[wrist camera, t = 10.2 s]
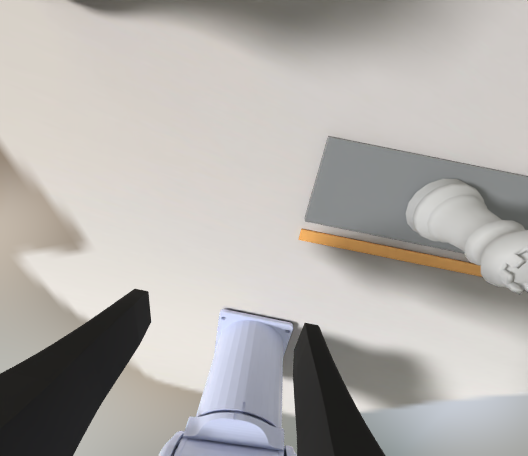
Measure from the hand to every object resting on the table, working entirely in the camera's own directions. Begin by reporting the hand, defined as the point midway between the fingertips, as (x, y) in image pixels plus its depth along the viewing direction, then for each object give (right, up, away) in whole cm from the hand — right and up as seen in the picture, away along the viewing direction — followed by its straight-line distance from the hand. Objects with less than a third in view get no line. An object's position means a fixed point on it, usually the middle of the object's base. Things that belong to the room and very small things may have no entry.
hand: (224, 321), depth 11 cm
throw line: (+15, +2, +9) cm, 18 cm away
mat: (+16, +6, +7) cm, 18 cm away
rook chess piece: (+15, +6, +7) cm, 17 cm away
